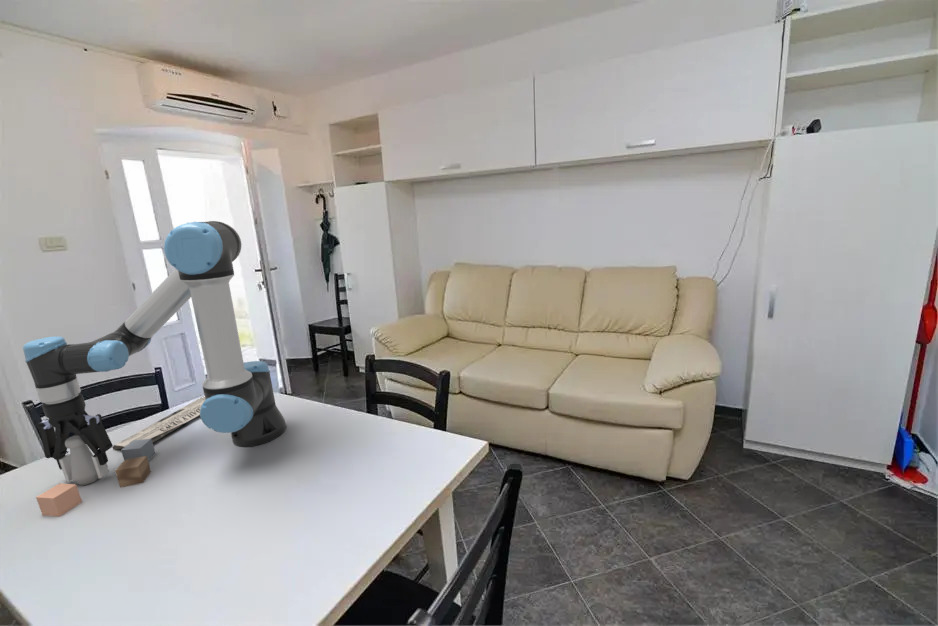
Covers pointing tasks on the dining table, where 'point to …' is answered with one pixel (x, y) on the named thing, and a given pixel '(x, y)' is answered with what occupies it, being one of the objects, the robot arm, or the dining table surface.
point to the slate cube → (139, 449)
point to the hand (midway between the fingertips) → (88, 476)
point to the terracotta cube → (59, 499)
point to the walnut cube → (133, 471)
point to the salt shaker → (81, 461)
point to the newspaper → (166, 424)
